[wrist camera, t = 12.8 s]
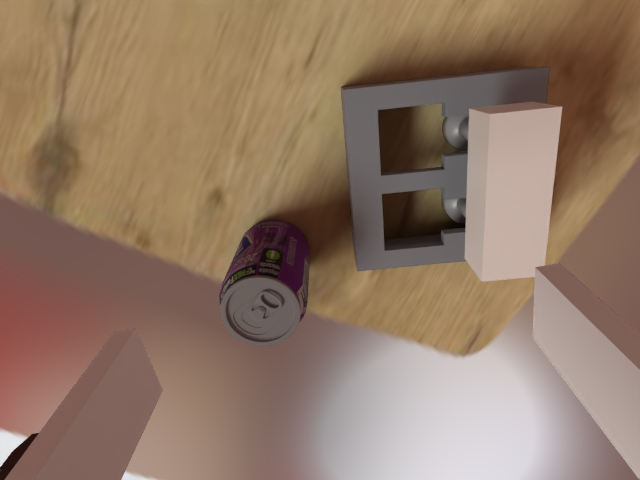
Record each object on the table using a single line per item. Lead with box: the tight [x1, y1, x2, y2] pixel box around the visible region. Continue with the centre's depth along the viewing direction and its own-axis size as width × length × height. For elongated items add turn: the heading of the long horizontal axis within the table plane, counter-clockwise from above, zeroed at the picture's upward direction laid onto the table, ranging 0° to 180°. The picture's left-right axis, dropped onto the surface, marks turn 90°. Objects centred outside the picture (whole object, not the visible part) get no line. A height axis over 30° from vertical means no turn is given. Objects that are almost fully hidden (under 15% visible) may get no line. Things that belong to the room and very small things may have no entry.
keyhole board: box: [341, 67, 550, 271], centre depth 38 cm, size 16×16×4 cm
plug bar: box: [442, 102, 562, 282], centre depth 34 cm, size 12×4×12 cm, turn 6°
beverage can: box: [220, 220, 310, 346], centre depth 38 cm, size 7×7×12 cm
